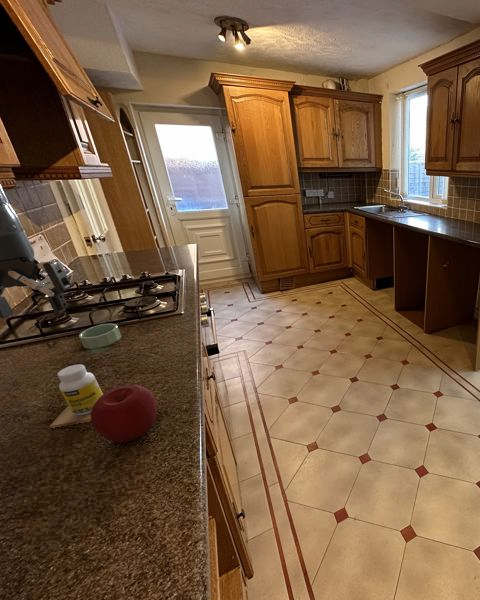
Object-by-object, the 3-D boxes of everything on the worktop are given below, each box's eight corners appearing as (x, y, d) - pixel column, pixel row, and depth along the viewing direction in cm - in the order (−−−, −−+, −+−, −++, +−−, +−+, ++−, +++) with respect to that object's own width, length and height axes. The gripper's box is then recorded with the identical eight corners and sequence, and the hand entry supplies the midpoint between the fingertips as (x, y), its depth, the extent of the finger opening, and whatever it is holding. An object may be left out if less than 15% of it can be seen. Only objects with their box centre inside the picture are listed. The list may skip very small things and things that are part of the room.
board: (51, 428, 65) (49, 425, 65) (75, 402, 72) (73, 399, 72) (109, 418, 67) (108, 415, 67) (127, 393, 74) (126, 390, 74)
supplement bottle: (72, 420, 66) (50, 382, 62) (74, 405, 70) (53, 368, 66) (106, 408, 69) (87, 370, 65) (106, 394, 73) (88, 358, 69)
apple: (119, 461, 58) (96, 419, 54) (95, 440, 62) (73, 400, 58) (174, 425, 65) (158, 386, 61) (149, 409, 70) (133, 371, 65)
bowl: (79, 355, 89) (72, 340, 87) (96, 340, 96) (89, 325, 94) (114, 350, 91) (108, 335, 89) (128, 336, 98) (122, 321, 96)
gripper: (56, 225, 61) (89, 302, 68) (-41, 228, 58) (4, 309, 64) (26, 234, 55) (66, 318, 61) (-86, 238, 51) (-30, 327, 58)
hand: (34, 314), depth 63 cm, fingers open, 8 cm apart
